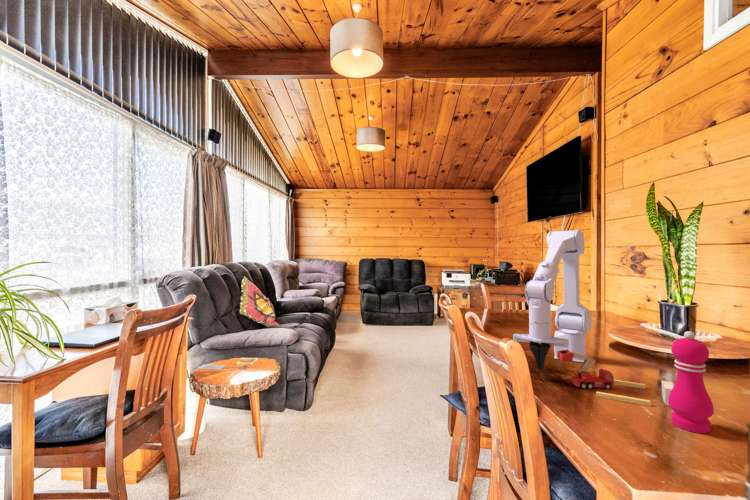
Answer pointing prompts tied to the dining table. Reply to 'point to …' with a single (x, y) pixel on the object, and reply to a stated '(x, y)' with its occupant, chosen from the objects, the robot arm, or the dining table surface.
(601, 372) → the toy fire truck
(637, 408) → the dining table surface
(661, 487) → the dining table surface
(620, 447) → the dining table surface
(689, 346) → the pepper mill
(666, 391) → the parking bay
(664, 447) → the dining table surface
